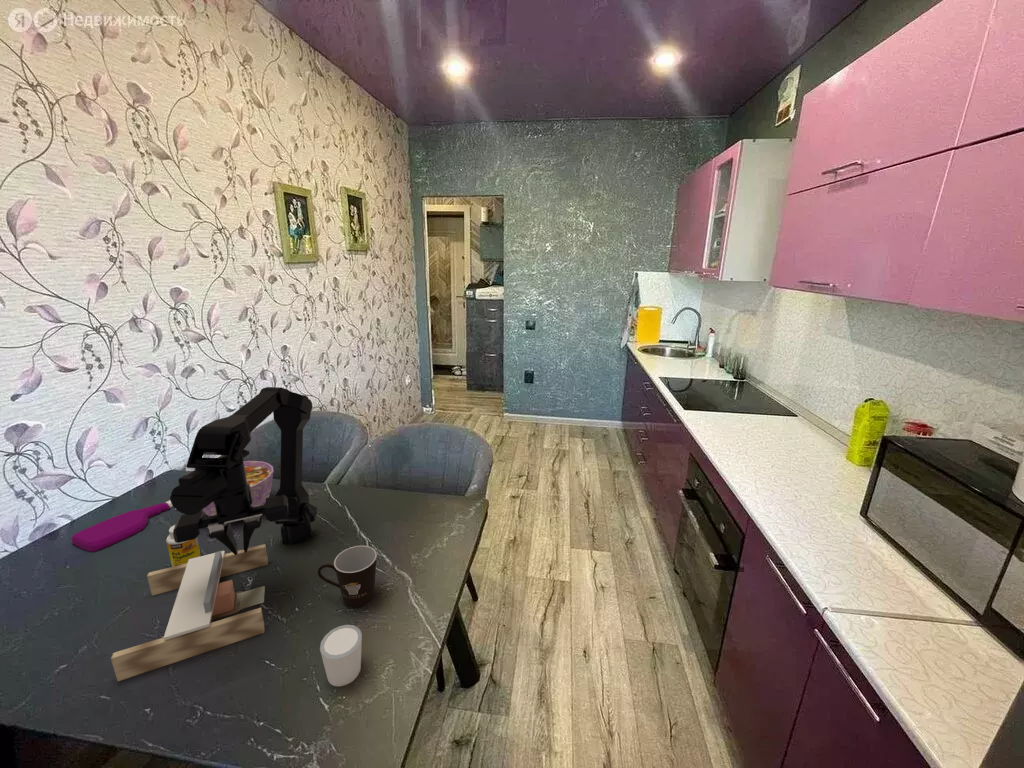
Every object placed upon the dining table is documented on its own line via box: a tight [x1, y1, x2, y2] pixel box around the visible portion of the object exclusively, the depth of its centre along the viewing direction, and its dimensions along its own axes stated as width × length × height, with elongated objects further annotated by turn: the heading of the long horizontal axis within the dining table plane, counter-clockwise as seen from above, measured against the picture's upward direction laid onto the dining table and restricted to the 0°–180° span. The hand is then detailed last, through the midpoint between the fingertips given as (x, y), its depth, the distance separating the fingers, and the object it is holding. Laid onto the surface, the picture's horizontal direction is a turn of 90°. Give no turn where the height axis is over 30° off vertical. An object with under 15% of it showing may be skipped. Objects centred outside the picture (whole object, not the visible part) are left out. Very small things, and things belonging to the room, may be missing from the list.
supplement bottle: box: [166, 524, 202, 567], centre depth 96 cm, size 6×6×10 cm
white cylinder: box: [319, 624, 363, 687], centre depth 72 cm, size 7×7×7 cm
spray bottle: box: [71, 499, 177, 553], centre depth 112 cm, size 3×11×24 cm
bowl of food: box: [202, 460, 274, 517], centre depth 117 cm, size 20×20×12 cm
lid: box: [163, 550, 226, 641], centre depth 81 cm, size 6×22×3 cm, turn 29°
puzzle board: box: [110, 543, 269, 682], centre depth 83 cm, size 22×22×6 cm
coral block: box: [212, 579, 236, 616], centre depth 84 cm, size 4×4×4 cm
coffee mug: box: [317, 545, 378, 609], centre depth 89 cm, size 12×9×10 cm
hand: (241, 552), depth 84 cm, fingers closed
